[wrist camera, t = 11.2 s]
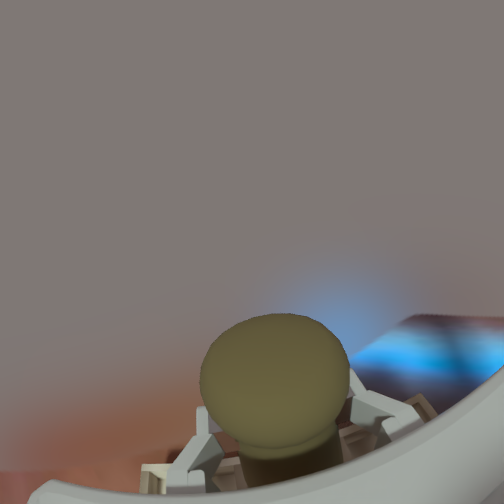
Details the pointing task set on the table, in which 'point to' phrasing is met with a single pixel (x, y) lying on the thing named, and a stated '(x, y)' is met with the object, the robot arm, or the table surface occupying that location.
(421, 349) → the table surface
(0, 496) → the table surface
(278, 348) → the cork
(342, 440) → the divided tray
